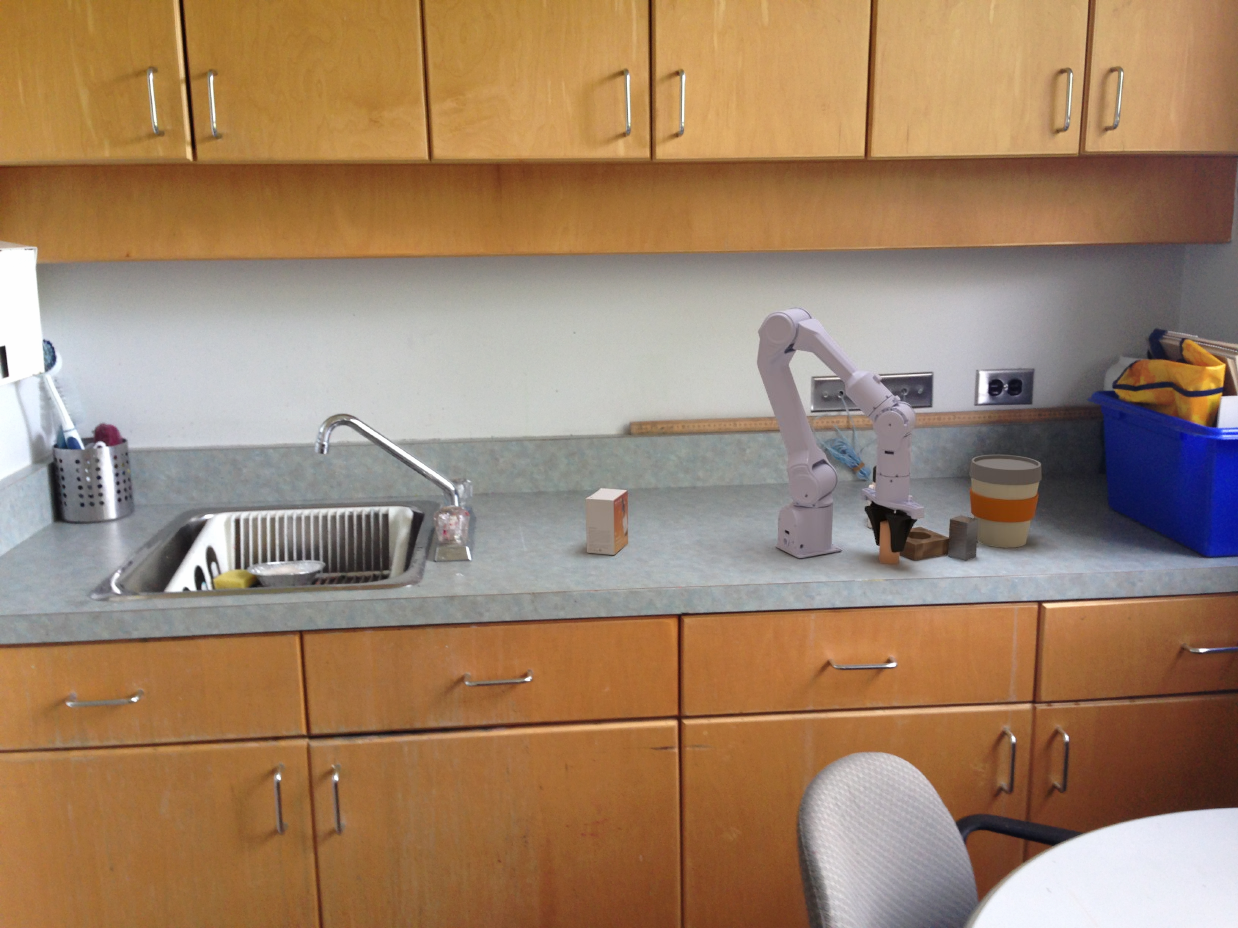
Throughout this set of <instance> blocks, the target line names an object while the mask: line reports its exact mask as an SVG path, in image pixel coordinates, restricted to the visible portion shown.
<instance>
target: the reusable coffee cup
mask: <svg viewBox="0 0 1238 928" xmlns="http://www.w3.org/2000/svg"><path fill="white" fill-rule="evenodd" d="M968 476H969V477H970V480H971V487H970V488H969V499H970V501H969V502H970V513H971V514H972V515H973V518H976V519H979V521H978V536H977V543H980V544H982V545H985V546H988V547H989V546H990V547H997V548H1008V549H1009V548H1018V547H1022V546H1024V545H1026V544H1027V539H1028V534H1029V529H1030V525H1031V521H1032V520H1033V519H1034V517H1035V515H1036V514H1035V513H1036V510H1037V509H1036V508H1037V503H1038V499H1039V496H1040V495H1039V492H1038V489H1039V485H1040V482H1041V481H1042V479H1043V478H1042V463H1041V462H1040V461H1038V460H1036V459H1034V458H1030V457H1026V456H1018V455H1010V454H985V455H978V456H974V457H973V458H971V462H970V466H969V473H968Z"/></svg>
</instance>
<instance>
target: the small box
mask: <svg viewBox="0 0 1238 928" xmlns="http://www.w3.org/2000/svg"><path fill="white" fill-rule="evenodd" d="M628 494H629V493H628V490H626V489H616V488H604V487H601V488H599V489H598V490H596V491H595V492H594V493H592V494H591V495H590V496H588V497H585V529H586V530H585V531H586V534H585V535H586V553H587V554H599V555H608V556H609V555H610V556H615V555H616V554H617V553H618V552H619V551H620V550H621V549H623V548H624V547H626V546H627V545H628V544H629V503H628V502H629V500H628V499H629V498H628V496H629V495H628Z"/></svg>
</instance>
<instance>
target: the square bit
mask: <svg viewBox="0 0 1238 928" xmlns="http://www.w3.org/2000/svg"><path fill="white" fill-rule="evenodd" d="M978 521H979V519H976V518H974V517H972V516H966V515H962V514H960V515H958V516H954V517H952V518H949V530H948V537H949V543H948V555H947V557H948V558H952V559H956V560H960V561H963V562H967V561H969V560H972V559H974V558H976V557H977V549H978V548H977V547H978V541H977V536H978Z"/></svg>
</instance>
